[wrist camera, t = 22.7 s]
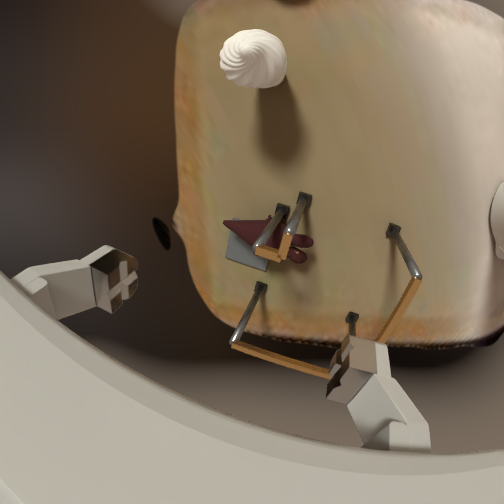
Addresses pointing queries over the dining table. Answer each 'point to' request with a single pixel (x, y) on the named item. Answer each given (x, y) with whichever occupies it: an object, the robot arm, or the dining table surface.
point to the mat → (244, 252)
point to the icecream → (254, 228)
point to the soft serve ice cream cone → (254, 59)
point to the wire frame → (277, 255)
